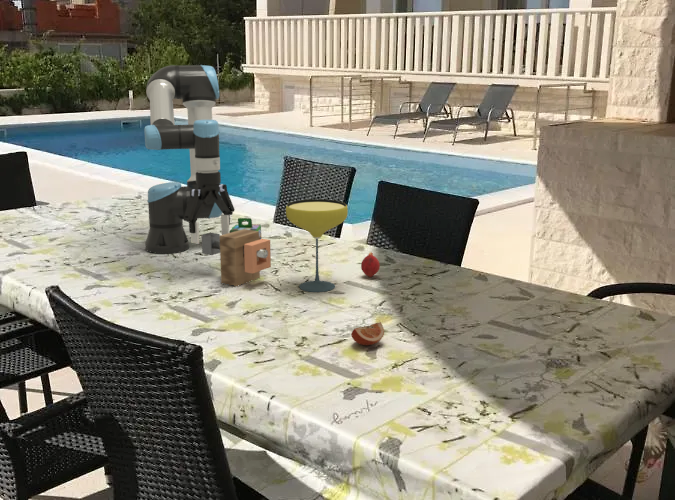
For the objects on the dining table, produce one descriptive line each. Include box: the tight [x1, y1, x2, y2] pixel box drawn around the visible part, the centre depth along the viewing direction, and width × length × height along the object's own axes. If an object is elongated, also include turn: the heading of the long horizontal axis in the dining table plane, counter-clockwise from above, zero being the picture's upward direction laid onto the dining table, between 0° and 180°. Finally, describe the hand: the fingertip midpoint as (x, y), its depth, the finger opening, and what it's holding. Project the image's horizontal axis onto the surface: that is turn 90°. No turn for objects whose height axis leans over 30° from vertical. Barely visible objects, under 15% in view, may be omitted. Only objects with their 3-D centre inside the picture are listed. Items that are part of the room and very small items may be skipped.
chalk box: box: [229, 217, 263, 240], centre depth 255 cm, size 9×9×15 cm
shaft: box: [201, 232, 268, 258], centre depth 232 cm, size 24×4×6 cm, turn 56°
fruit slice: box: [350, 321, 385, 346], centre depth 182 cm, size 8×7×5 cm
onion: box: [360, 251, 381, 278], centre depth 236 cm, size 6×6×8 cm
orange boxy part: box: [244, 238, 272, 274], centre depth 227 cm, size 3×8×8 cm, turn 146°
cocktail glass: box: [285, 198, 349, 293], centre depth 224 cm, size 18×18×25 cm
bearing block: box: [219, 229, 261, 287], centre depth 232 cm, size 6×11×15 cm, turn 146°
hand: (210, 239), depth 237 cm, fingers open, 13 cm apart
